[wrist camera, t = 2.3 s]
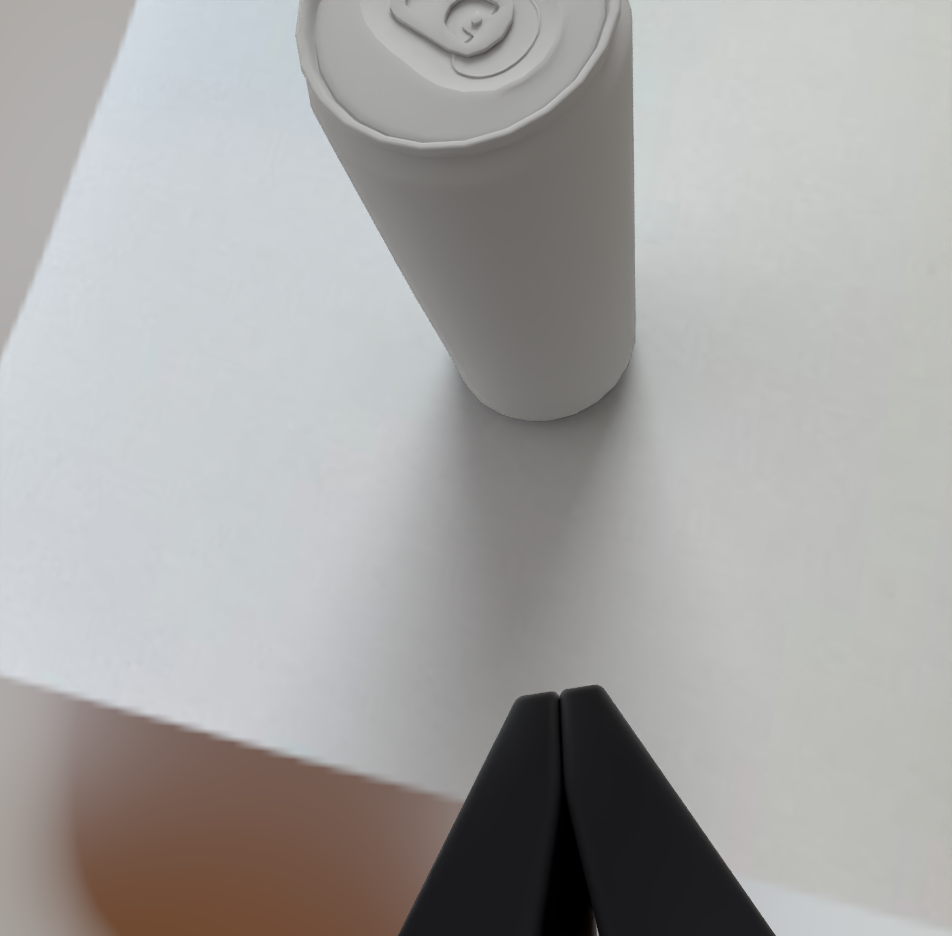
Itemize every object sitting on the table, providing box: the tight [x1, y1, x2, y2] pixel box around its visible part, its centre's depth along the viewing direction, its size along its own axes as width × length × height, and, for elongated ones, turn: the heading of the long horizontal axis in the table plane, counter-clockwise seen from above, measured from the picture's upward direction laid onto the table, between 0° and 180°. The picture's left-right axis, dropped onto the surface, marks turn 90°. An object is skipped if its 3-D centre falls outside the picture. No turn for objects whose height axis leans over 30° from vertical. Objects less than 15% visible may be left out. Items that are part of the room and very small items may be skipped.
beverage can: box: [295, 0, 636, 421], centre depth 18 cm, size 5×5×12 cm
